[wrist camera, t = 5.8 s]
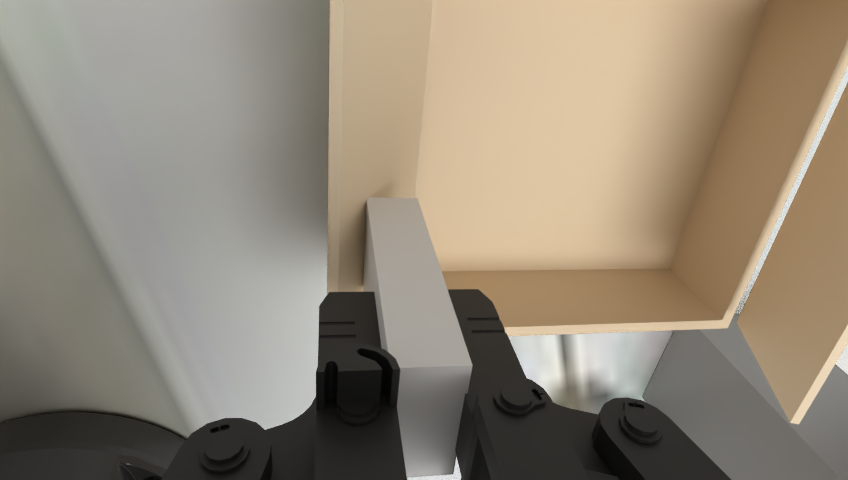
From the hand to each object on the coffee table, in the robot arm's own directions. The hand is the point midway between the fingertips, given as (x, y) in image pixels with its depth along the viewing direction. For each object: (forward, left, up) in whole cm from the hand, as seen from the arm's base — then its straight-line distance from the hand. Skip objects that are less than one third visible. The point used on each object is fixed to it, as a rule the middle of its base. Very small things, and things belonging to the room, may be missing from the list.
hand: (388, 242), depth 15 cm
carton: (+9, 0, -10) cm, 13 cm away
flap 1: (0, 0, -1) cm, 1 cm away
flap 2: (+16, 0, -1) cm, 16 cm away
